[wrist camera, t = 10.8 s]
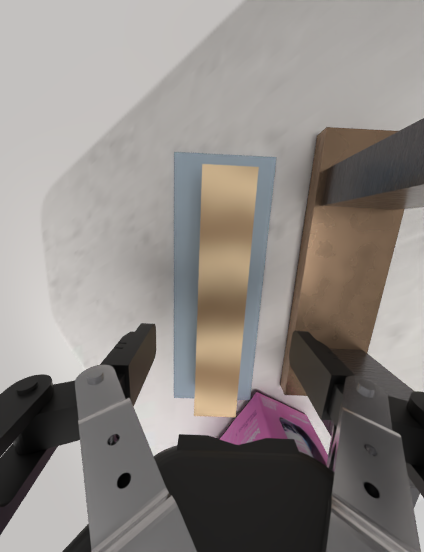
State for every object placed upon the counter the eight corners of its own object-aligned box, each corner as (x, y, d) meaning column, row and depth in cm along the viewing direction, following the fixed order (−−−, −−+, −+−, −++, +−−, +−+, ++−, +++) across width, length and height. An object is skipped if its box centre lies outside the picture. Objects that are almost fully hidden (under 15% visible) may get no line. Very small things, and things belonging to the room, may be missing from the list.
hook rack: (317, 135, 17) (598, -112, 5) (406, 140, 18) (912, -89, 5) (280, 384, 23) (360, 566, 11) (346, 387, 24) (504, 570, 11)
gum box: (261, 380, 23) (341, 593, 10) (314, 405, 24) (447, 621, 11) (165, 506, 28) (133, 763, 14) (214, 521, 29) (225, 768, 16)
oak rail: (204, 178, 18) (202, 163, 14) (248, 180, 18) (258, 166, 14) (197, 384, 23) (194, 415, 19) (231, 385, 23) (235, 417, 19)
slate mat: (175, 153, 18) (174, 152, 17) (274, 158, 18) (276, 157, 17) (174, 394, 24) (174, 397, 23) (249, 397, 24) (249, 400, 23)
